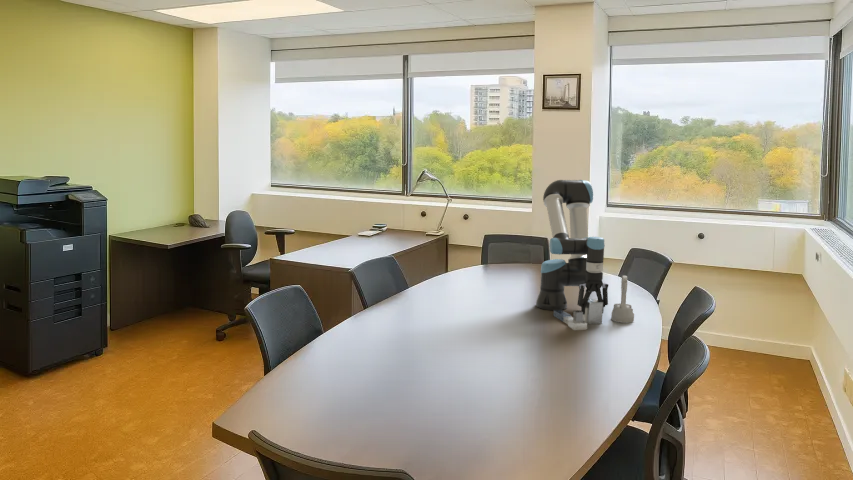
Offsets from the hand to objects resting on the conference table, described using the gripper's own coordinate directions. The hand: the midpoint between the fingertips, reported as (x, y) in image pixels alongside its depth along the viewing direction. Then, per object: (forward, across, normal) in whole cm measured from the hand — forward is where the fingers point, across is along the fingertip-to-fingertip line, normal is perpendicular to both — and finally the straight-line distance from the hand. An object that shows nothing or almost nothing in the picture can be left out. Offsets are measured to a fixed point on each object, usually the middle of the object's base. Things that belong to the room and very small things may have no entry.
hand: (591, 320), depth 300 cm
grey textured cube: (0, 0, 0) cm, 0 cm away
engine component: (+1, +16, +1) cm, 16 cm away
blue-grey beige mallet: (+1, -11, +1) cm, 11 cm away
